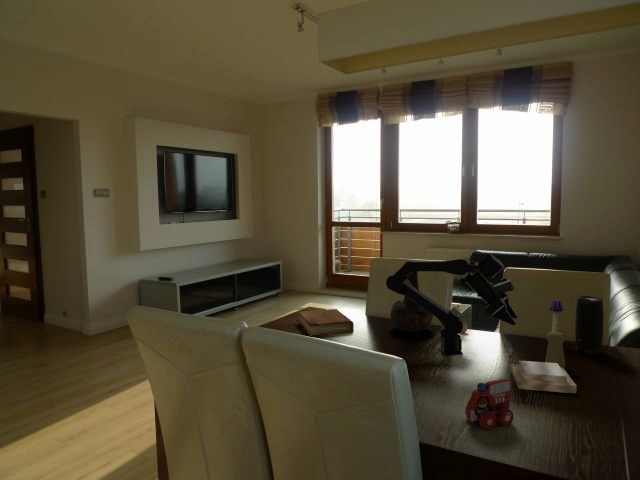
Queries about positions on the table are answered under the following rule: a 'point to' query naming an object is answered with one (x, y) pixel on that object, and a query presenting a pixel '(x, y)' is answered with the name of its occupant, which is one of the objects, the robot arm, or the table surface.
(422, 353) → the table surface
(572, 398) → the table surface
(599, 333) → the portable speaker
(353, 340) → the table surface
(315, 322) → the diary
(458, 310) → the figurine
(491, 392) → the toy fire truck
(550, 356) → the brown ball-topped peg
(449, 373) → the table surface
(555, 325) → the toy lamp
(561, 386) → the stepped square base
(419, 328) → the glass bottle
